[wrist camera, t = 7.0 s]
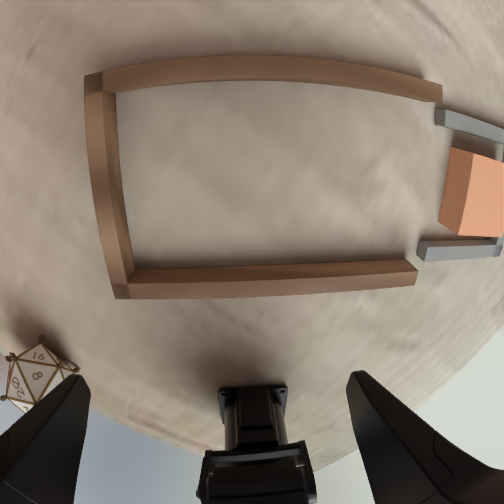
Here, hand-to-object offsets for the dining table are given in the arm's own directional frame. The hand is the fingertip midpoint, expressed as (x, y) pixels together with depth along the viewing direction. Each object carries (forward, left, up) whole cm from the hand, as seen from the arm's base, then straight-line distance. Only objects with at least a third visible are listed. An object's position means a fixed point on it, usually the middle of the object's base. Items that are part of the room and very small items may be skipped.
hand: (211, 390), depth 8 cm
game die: (-12, +18, -12) cm, 25 cm away
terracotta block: (+4, -20, -12) cm, 24 cm away
